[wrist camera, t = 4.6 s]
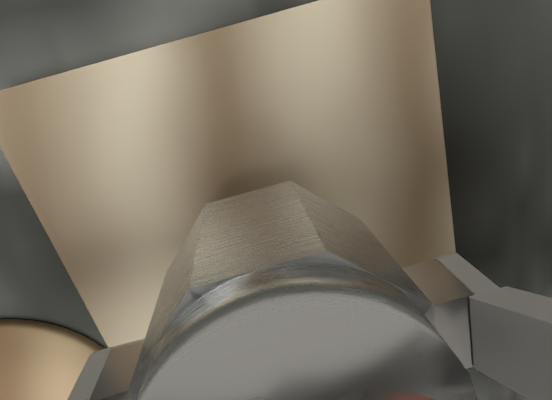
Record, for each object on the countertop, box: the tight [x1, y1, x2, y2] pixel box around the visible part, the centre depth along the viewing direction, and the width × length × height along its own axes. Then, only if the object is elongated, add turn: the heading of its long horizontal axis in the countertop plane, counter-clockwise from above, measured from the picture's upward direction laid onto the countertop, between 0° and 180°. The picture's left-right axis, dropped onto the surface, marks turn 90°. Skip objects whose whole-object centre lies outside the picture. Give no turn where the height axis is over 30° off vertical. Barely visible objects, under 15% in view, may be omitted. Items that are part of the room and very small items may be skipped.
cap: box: [128, 181, 477, 400], centre depth 8 cm, size 6×6×6 cm
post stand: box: [0, 0, 456, 348], centre depth 11 cm, size 14×14×9 cm
